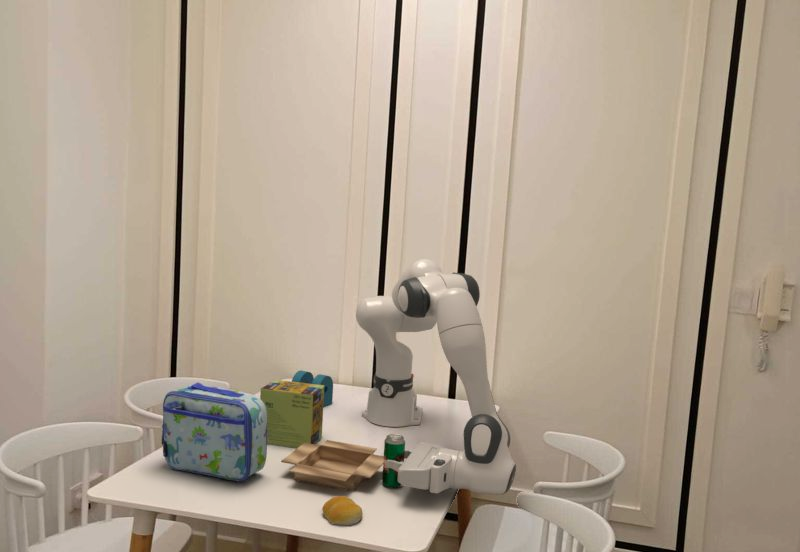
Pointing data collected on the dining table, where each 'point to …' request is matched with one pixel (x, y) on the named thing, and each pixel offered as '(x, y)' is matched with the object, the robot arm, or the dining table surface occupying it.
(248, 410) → the lunch box
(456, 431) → the dining table surface
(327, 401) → the camera mount
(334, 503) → the bread roll
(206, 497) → the dining table surface
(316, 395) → the protein box
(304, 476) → the carton
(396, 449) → the soda can
